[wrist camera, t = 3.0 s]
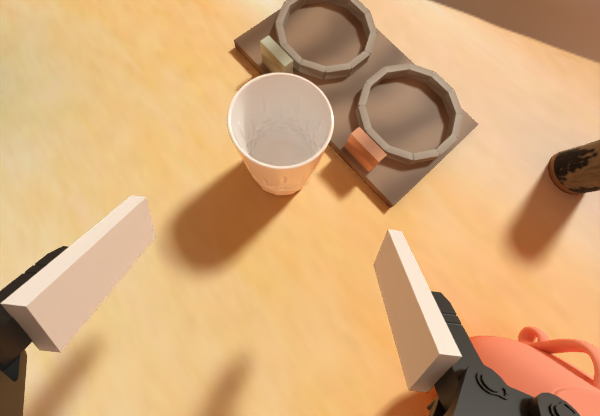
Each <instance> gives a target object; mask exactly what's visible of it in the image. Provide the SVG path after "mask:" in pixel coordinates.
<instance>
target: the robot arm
mask: <svg viewBox="0 0 600 416" xmlns="http://www.w3.org/2000/svg"><path fill="white" fill-rule="evenodd" d="M155 237H156V236H155V232H154V227H153V223H152V219H151V215H150V210H149V206H148V202H147V198H146V197H142V196H134V195H131V196H130V197H129V198H128V199H126V200H125V201H124V202H123V203H122V204H120V205H119V206H118V207H117V208H116V209H114V210H113V211H112V212H111V213H109V214H108V215H107V216H106V217H105V218H103V219H102V220H101V221H100V222H99V223H97V224H96V225H95V226H94V227H92V228H91V229H90V230H89V231H88V232H86V233H85V234H84V235H83V236H82V237H80V238H79V239H78V240H77V241H75V242H74V243H73V244H72V245H71V246H69V247H66V246H63V247H60V248H58V249H56V250H54V251H52V252H50V253H48V254H47V255H46V256H44V257H43V258H42V259H41V260H39V261H38V262H37V263H35V266H32V267H30V268H29V269H28V270H27V271H25V274H21V275H20V276H19V277H18V278H16V279H15V280H14V281H12V282H11V283H10V284H9V285H7V286H6V287H5V288H4V289H2V290H1V291H0V416H23V404H24V391H25V377H26V364H27V354H26V351H25V348H26V347H27V346H28V345H29V344H30V343H31V342H33V343H34V344H35V345H36V347H37V348H38V349H39V350H43V351H52V352H62V351H63V349H64V348H65V347H66V346H67V344H68V343H69V342H70V341H71V340H72V338H73V337H74V336H75V335H76V333H77V332H78V331H79V330H80V329H81V327H82V326H83V325H84V324H85V322H86V321H87V320H88V319H89V318H90V316H91V315H92V314H93V313H94V312H95V310H96V309H97V308H98V307H99V305H100V304H101V303H102V302H103V301H104V299H105V298H106V297H107V296H108V294H109V293H110V292H111V291H112V290H113V288H114V287H115V286H116V285H117V284H118V282H119V281H120V280H121V279H122V277H123V276H124V275H125V274H126V273H127V271H128V270H129V269H130V268H131V266H132V265H133V264H134V263H135V262H136V260H137V259H138V258H139V257H140V256H141V254H142V253H143V252H144V251H145V249H146V248H147V247H148V246H149V245H150V243H151V242H152V241H153V240H154V238H155ZM373 265H374V269H375V272H376V276H377V279H378V283H379V287H380V290H381V294H382V297H383V301H384V304H385V308H386V312H387V315H388V319H389V322H390V326H391V329H392V333H393V337H394V340H395V344H396V347H397V351H398V355H399V358H400V362H401V365H402V369H403V372H404V376H405V380H406V383H407V387H408V390H410V391H419V392H429V391H430V390H431V389H432V387H433V386H435V388H436V391H437V394H438V397H437V398H436V399H434V400H433V401H432V402H431V403H430V404H429V406H428V407H427V409H428V410H431V409H432V410H431V412H430V415H429V416H580V414H579V413H578V412H577V411H576V410H575V409H574V408H573V407H572V406H571V405H570V404H568V403H567V402H566V401H564V400H563V399H561V398H560V397H558V396H556V395H554V394H551V393H548V392H547V393H540V394H539V395H537V396H536V397H533V396H530V395H528V394H526V393H523V392H521V391H519V390H517V389H514V388H512V387H510V386H508V385H507V384H506V383H505V382H504V381H503V379H502V378H501V377H500V376H499V375H498V374H497V373H496V372H495V371H493V370H492V369H491V368H489V367H487V366H485V365H484V364H483V363H482V361H481V359H480V357H479V355H478V354H477V352H476V350H475V348H474V346H473V344H472V342H471V341H470V339H469V337H468V335H467V333H466V331H465V329H464V328H463V326H461V322H460V320H459V318H458V316H456V313H455V311H454V309H453V307H452V305H451V303H450V302H449V301H448V300H447V299H446V298H445V297H444V296H443V295H442V293H441V292H433V291H430V289H429V287H428V285H427V283H426V281H425V279H424V277H423V274H422V272H421V270H420V268H419V266H418V264H417V262H416V260H415V258H414V256H413V254H412V252H411V250H410V248H409V245H408V243H407V241H406V239H405V237H404V235H403V233H402V231H397V230H389V229H388V231H387V233H386V235H385V238H384V240H383V243H382V245H381V248H380V250H379V252H378V255H377V257H376V260H375V262H374V264H373Z"/></svg>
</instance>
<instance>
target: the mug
mask: <svg viewBox="0 0 600 416" xmlns="http://www.w3.org/2000/svg"><path fill="white" fill-rule="evenodd" d="M548 169H549V174H550V177H551V179H552V181H553V182H554V184H555V185H556V186H557V187H558V188H559V189H561V190H562V191H564V192H566V193H569V194H576V195H577V194H581V193H586V192H592V191H599V190H600V140H598V141H595V142H592V143H589V144H586V145H583V146H579V147H576V148H572V149H568V150H565V151H562V152H559V153H557V154H555V155H554V156H553V157H552V158H551V160H550V162H549V168H548Z"/></svg>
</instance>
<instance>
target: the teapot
mask: <svg viewBox="0 0 600 416" xmlns="http://www.w3.org/2000/svg"><path fill="white" fill-rule="evenodd" d="M537 337H538V342H535V339H536V338H537ZM469 339H470V341H471V342H472V344H473V346H474V348H475V350H476V352H477V354H478V355H479V357H480V359H481V361H482V363H483V364H484V365H485V366H487V367H489V368H491V369H492V370H493V371H495V372H496V373H497V374H498V375H499V376H500V377H501V378H502V379H503V381H504V382H505V383H506V384H507V385H508V386H510V387H512V388H514V389H517V390H519V391H521V392H523V393H526V394H528V395H530V396H533V397H536V396H537V395H539V394H540V393H547V392H548V393H551V394H554V395H556V396H558V397H560V398H561V399H563V400H564V401H566V402H567V403H568V404H570V405H571V406H572V407H573V408H574V409H575V410H576V411H577V412H578V413H579V414H580V416H600V349H599V348H598V347H596V346H594V345H592V344H590V343H587V342H584V341H581V340H576V339H556V340H549V338H548V336H547V334H546V333H544V332H543V331H542V330H540V329H538V328H536V327H525V328H523V329H522V330H521V331H520V333H519V336H518V339H519V341H515V340H511V339H506V338H500V337H492V336H476V337H470V338H469ZM563 352H584V353H587V354H588V355H589V356H590V357H591V359H592V362H593V364H594V370H595V374H594V377H592V376H591V375H589V374H587V373H586V372H584V371H582V370H580V369H579V368H577V367H575V366H574V365H572V364H570V363H568V362H566V361H564V360H562V359H560V358H558V357H556V356H554V355H552V354H553V353H563Z"/></svg>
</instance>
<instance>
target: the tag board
mask: <svg viewBox="0 0 600 416" xmlns="http://www.w3.org/2000/svg"><path fill="white" fill-rule="evenodd" d="M234 43H235V47H236V48H237V49H238V50H239V51H240V52H241V53H242V54H243V55H244V56H245V57H246V58H247V59H248V61H249V62H250V63H251V64H252V65H253V66H254V67H255V68H256V69H257V70H258V71H259V72H260V73H261V74H262V75H264V74H269V73H290V74H294V75H298V76H300V77H303V78H305V79H307V80H309V81H310V82H312V83H313V84H315V85H316V86H317V87H318V88H319V89H320V90H321V91H322V92H323V93H324V95H325V96H326V97H327V99H328V101H329V103H330V105H331V108H332V111H333V116H334V128H333V133H332V137H331V139H330V142H329V145H330V146H331V147H332V148H333V149H334V150H335V151H336V152H337V153H338V154H339V155H340V156H341V157H342V158H343V159H344V160H345V161H346V162H347V163H348V164H349V165H350V166H351V167H352V169H353V170H354V171H355V172H356V173H357V174H358V175H359V176H360V177H361V178H362V179H363V180H364V181H365V182H366V183H367V184H368V185H369V186H370V187H371V188H372V189H373V190H374V191H375V192H376V193H377V194H378V196H379V197H380V198H381V199H382V200H383V201H384V202H385V203H386V204H387V205H388V206H389V207H392V206H394V205H395V204H396V203H397V202H398V201H399V200H400V199H401V198H402V197H403V196H405V195H406V194H407V193H408V192H409V191H410V190H411V189H412V188H413V187H414V186H415V185H416V184H417V183H418V182H419V181H420V180H421V179H422V178H423V177H424V176H425V175H426V174H427V173H428V172H429V171H430V170H432V169H433V168H434V167H435V166H436V165H437V164H438V163H439V162H440V161H441V160H442V159H443V158H444V157H445V156H446V155H447V154H448V153H449V152H450V151H451V150H452V149H453V148H454V147H455V146H456V145H457V144H459V143H460V142H461V141H462V140H463V139H464V138H465V137H466V136H467V135H468V134H469V133H470V132H471V131H472V130H473V129H474V128H475V127H476V126H477V125H478V123H476V122H475V121H474V120H473V119H472V118H471V117H470V116H469V115H468V114H467V113H466V112H465V111H464V110H463V109H462V108H461V107H460V104H459V101H458V99H457V96H456V93H455V90H454V89H453V88H452V87H451V86H450V85H449V84H447V83H446V82H445V81H444V80H443V79H442V78H441V77H440V76H439V75H438V74H437V73H436V72H434V71H432V70H429V69H426V68H422V67H419V66H416V65H415V64H414V63H413V62H412V61H411V60H409V59H408V58H407V57H406V56H405V55H404V54H403V53H402V52H401V51H400V50H399V49H398V48H397V47H396V46H395V45H393V44H392V43H391V42H390V41H389V40H388V39H387V38H386V37H385V36H384V35H383V34H382V33H381V32H380V31H379V30H378V29H376V28H375V25H374V21H373V18H372V15H371V12H370V11H369V10H368V9H367V8H366V7H365V6H364V5H363V4H362V3H361V2H360V1H359V0H287V1H285V2H284V3H283V6H282V8H281V9H280V10H278V11H277V12H275V13H274V14H272V15H271V16H269V17H268V18H266V19H265V20H263V21H262V22H260V23H259V24H257V25H256V26H254V27H253V28H251V29H250V30H248V31H247V32H245V33H244V34H242V35H241V36H239V37H238V38H236V39H235V40H234ZM453 90H454V91H453Z"/></svg>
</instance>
